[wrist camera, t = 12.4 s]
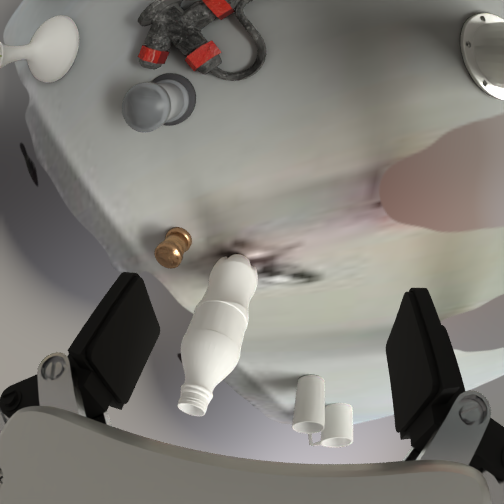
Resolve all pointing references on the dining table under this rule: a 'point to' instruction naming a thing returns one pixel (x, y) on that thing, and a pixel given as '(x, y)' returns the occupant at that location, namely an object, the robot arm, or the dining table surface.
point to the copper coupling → (173, 247)
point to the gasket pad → (190, 90)
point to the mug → (309, 405)
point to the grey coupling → (155, 104)
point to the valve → (193, 35)
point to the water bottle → (216, 331)
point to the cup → (336, 426)
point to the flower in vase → (47, 49)
